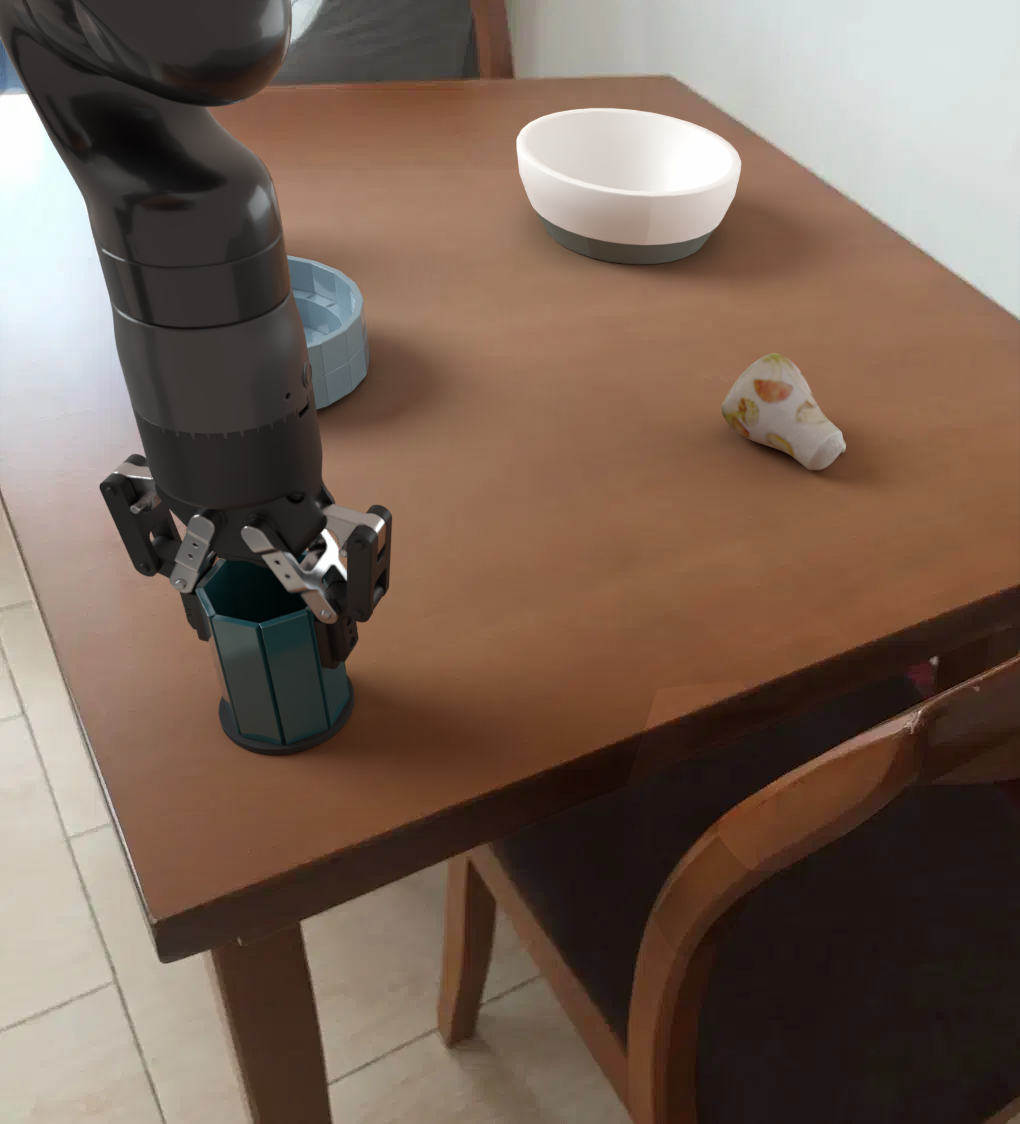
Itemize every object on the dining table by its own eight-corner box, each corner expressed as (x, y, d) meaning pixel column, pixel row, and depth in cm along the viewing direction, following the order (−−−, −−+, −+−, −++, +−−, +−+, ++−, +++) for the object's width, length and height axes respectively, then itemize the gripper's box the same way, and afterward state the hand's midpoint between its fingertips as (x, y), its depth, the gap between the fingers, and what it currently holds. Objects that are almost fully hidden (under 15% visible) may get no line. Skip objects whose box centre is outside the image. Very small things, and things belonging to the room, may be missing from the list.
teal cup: (207, 729, 62) (174, 611, 56) (263, 652, 66) (238, 535, 60) (315, 753, 61) (293, 636, 55) (364, 674, 66) (348, 558, 60)
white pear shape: (815, 500, 86) (768, 387, 81) (737, 484, 93) (690, 380, 88) (877, 448, 89) (836, 336, 84) (798, 437, 97) (755, 333, 92)
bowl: (705, 184, 128) (713, 111, 123) (756, 277, 112) (767, 197, 107) (506, 180, 122) (505, 102, 117) (529, 278, 106) (529, 193, 101)
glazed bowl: (104, 402, 83) (83, 330, 79) (218, 304, 96) (205, 238, 92) (313, 445, 83) (302, 375, 79) (401, 341, 95) (396, 276, 91)
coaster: (194, 739, 62) (192, 733, 61) (259, 649, 67) (258, 643, 67) (320, 767, 61) (319, 761, 61) (375, 674, 67) (374, 669, 66)
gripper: (13, 391, 47) (109, 665, 58) (338, 458, 47) (375, 723, 58) (119, 311, 53) (189, 574, 64) (410, 370, 53) (431, 626, 63)
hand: (277, 643), depth 61 cm, fingers closed on teal cup, 6 cm apart
